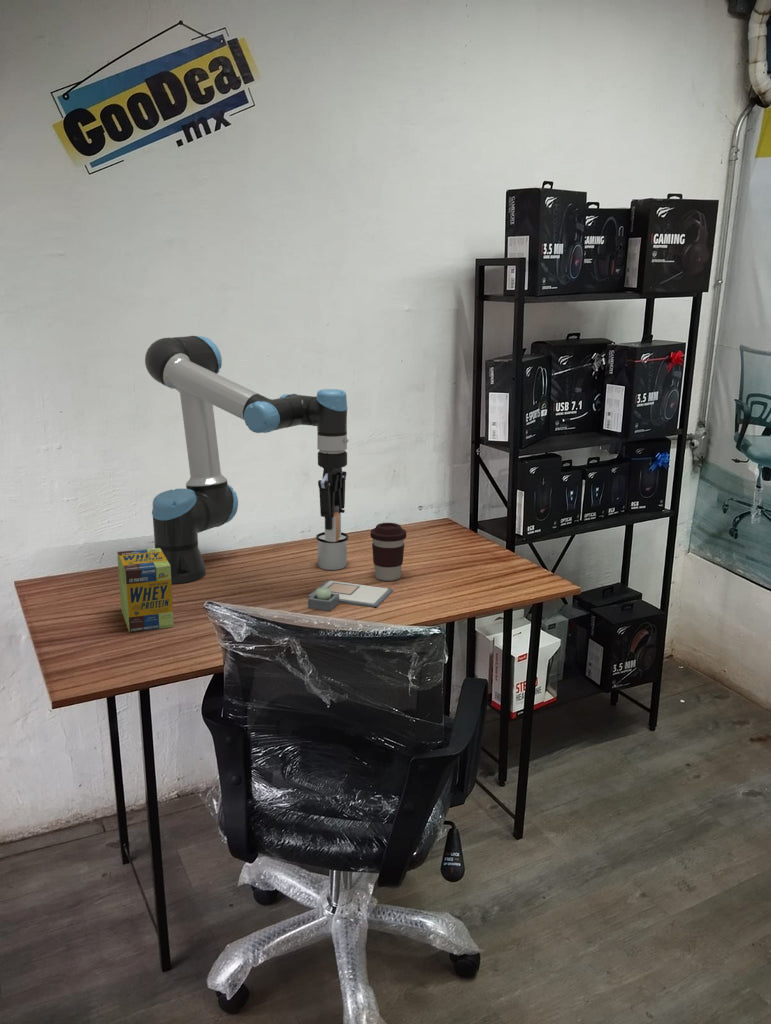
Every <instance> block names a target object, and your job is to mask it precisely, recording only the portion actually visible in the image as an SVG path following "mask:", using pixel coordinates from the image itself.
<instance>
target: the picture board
mask: <svg viewBox="0 0 771 1024" xmlns="http://www.w3.org/2000/svg"><path fill="white" fill-rule="evenodd" d="M321 587H326V588H330V589H331V593H335V594H339V604H347V605H353V606H355V605H356V606H360V605H361V606H360V607H368V608H374V607H376V608H378V607H379V606H380V605H381V604H382V603H383V602H384V601H385V600H386V599H387V598H388V597H389V596H390V595H391V594H392V593H393V592H394V588H389V587H388V588H387V587H380V586H374V585H373V586H372V585H366V584H360V583H350V582H346V581H345V582H344V581H337V580H331V579H330V580H329V579H328V580H325V582H323V583H321V585H319V586H318V587H317V588H316V589H314V590H313V591H312V592H310V594H308V595H307V598H308V599H309V598H310V597H311V596H312V595H313V594H315V593H316V592H317V589H318V588H321ZM376 608H375V609H376Z"/></svg>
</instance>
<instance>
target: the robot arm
mask: <svg viewBox="0 0 771 1024" xmlns="http://www.w3.org/2000/svg"><path fill="white" fill-rule="evenodd" d="M222 362H223V360H222V355H221V351H220V350H219V348H218V346H217V344H216V343H214V342H213V341H212V339H210V338H209V337H206V336H202V335H188V336H176V337H175V336H174V337H162V338H159V339H157V340H155V341H154V342H152V343H151V344H150V346H149V347H148V348H147V350H146V352H145V357H144V363H145V364H144V365H145V367H146V370H147V372H148V374H149V375H150V376H151V378H152V379H154V380H155V381H156V382H158V383H159V384H161V385H163V386H165V387H166V388H167V387H168V388H169V389H172V390H173V389H175V391H177V392H179V395H180V404H181V412H182V421H183V428H184V435H185V436H184V437H185V443H186V453H187V460H188V466H189V467H188V468H189V475H190V477H189V479H188V481H187V482H186V483H185V488H175V489H167V490H165V491H163V492H160V493H158V494H156V496H155V497H154V498H153V500H152V510H151V515H152V523H153V524H152V525H153V526H152V527H153V536H154V537H153V538H154V540H153V541H154V548H160V549H161V550H162V552H163V554H164V555H165V557H166V559H167V561H168V562H169V564H170V566H171V583H172V584H185V583H191V582H194V581H197V580H198V581H199V579H202V578H204V576H206V574H207V573H206V564H205V561H204V558H203V557H202V554H201V551H200V548H199V537H198V533H202V532H205V531H208V530H211V529H214V528H219V527H221V526H224V525H225V524H227V523H229V522H230V521H232V520H233V518H234V517H235V516H236V514H237V513H238V507H239V498H238V495H237V492H236V491H235V490H234V488H233V487H232V486H231V485H229V484H228V479H227V478H226V477H225V476H224V475H223V474H222V471H221V463H220V455H219V453H220V452H219V446H218V439H217V429H216V421H215V420H216V419H215V413H214V412H215V411H214V407H217V408H219V409H221V410H223V411H225V412H227V413H229V414H231V415H233V416H235V417H237V418H239V419H241V420H243V421H244V423H245V425H246V426H247V428H248V429H249V430H250V431H251V432H253V433H256V434H262V433H263V434H266V433H271V432H273V431H277V430H282V429H287V428H292V427H296V426H313V427H316V428H317V430H316V431H317V439H316V440H317V445H316V446H317V447H316V448H317V450H318V452H317V465H318V467H320V468H322V469H323V472H322V479H321V480H320V479H319V480H318V481H317V484H318V489H319V492H318V494H319V508H320V509H319V513H320V517H321V518H324V532H325V541H332V542H335V541H336V525H335V517H334V505H338V506H339V538H341V532H342V514H344V513H345V504H346V479H347V471H343V468H345V467H347V466H348V452H347V451H346V450H347V449H348V448H347V447H348V445H347V444H348V443H349V438H348V430H347V429H348V427H347V426H348V424H347V423H348V421H347V420H348V403H347V400H348V399H347V392H346V391H345V390H342V389H338V388H333V389H331V388H326V389H325V388H323V389H319V390H318V391H317V393H316V396H313V395H302V394H297V393H291V394H289V393H284V394H282V395H281V396H280V397H278V398H274V399H272V398H268V397H266V396H264V395H262V394H260V393H257V392H255V391H253V390H252V389H249V388H247V387H246V386H243V385H242V384H239V383H237V382H235V381H232V380H230V379H228V378H227V377H224V376H222V375H220V374H219V373H220V369H221V368H222V364H223V363H222Z"/></svg>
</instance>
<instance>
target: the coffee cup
mask: <svg viewBox="0 0 771 1024" xmlns="http://www.w3.org/2000/svg"><path fill="white" fill-rule="evenodd" d="M369 536H370V538H371V539H372V543H371V547H372V561H373V565H374V567H373V568H374V569H373V571H374V577H375V578H376V579H377V580H380V581H385V582H392V581H398V580H399V579H400V578H401V577H402V566H403V563H404V552H405V543H404V542H405V539H406V538H407V531H406V529H404V528H402V526H401V525H400V524H398V523H395V522H382V523H378V524H376V526H375V527H374V528H372V529H371V530H370V535H369Z"/></svg>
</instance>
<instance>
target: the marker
mask: <svg viewBox="0 0 771 1024" xmlns="http://www.w3.org/2000/svg"><path fill="white" fill-rule="evenodd" d="M334 517H335V525H336V541H335V542H337V541H338V540H339V506H338V505H334ZM328 542H332V541H328Z"/></svg>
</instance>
